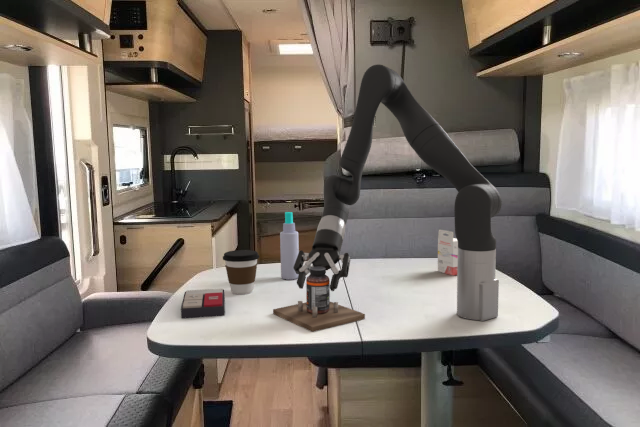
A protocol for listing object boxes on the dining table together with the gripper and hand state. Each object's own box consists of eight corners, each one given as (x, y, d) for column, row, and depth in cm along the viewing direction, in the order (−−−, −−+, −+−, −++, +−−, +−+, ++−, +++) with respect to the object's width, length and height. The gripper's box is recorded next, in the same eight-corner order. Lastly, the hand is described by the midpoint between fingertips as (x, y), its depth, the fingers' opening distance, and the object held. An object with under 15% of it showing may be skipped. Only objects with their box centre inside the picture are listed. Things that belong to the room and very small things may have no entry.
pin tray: (364, 318, 136) (364, 304, 136) (312, 331, 127) (312, 316, 127) (322, 303, 151) (322, 290, 151) (273, 313, 142) (272, 299, 141)
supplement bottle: (305, 307, 142) (305, 265, 140) (328, 307, 142) (328, 265, 141) (306, 315, 136) (306, 270, 135) (330, 314, 136) (330, 270, 135)
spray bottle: (292, 280, 177) (291, 213, 175) (277, 278, 180) (275, 213, 178) (302, 277, 182) (301, 211, 180) (287, 275, 185) (286, 211, 183)
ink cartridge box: (464, 274, 183) (465, 231, 181) (452, 276, 181) (453, 232, 179) (448, 269, 191) (448, 227, 189) (436, 271, 188) (437, 229, 187)
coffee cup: (219, 290, 167) (217, 251, 165) (252, 285, 172) (251, 248, 170) (230, 298, 157) (229, 257, 156) (265, 293, 162) (264, 253, 160)
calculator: (180, 306, 138) (184, 288, 153) (181, 322, 139) (185, 303, 154) (224, 303, 140) (224, 286, 155) (224, 319, 141) (224, 300, 155)
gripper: (301, 227, 146) (285, 278, 136) (352, 228, 141) (339, 282, 132) (308, 243, 151) (293, 293, 142) (357, 245, 147) (346, 298, 137)
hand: (315, 288), depth 137 cm, fingers open, 8 cm apart
